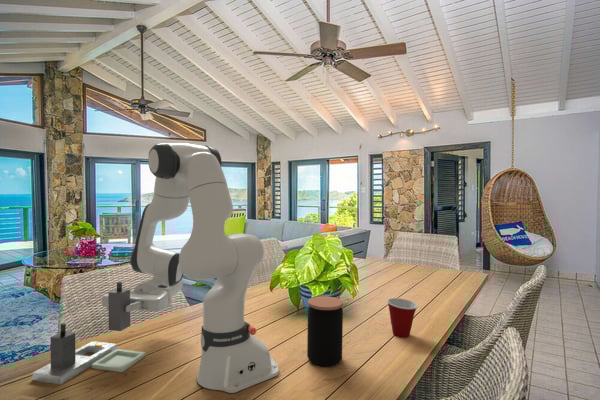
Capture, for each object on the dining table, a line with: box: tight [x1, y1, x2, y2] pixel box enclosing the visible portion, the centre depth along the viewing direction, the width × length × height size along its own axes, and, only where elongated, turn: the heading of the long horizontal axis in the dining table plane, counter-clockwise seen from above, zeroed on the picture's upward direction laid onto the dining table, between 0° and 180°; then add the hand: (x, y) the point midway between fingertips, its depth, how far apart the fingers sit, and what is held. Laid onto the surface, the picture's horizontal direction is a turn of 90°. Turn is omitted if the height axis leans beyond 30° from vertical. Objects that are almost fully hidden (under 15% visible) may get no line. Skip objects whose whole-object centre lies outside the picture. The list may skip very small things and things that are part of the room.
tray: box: [91, 348, 146, 373], centre depth 103 cm, size 10×10×2 cm
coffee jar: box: [306, 295, 344, 368], centre depth 107 cm, size 11×11×18 cm
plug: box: [107, 281, 131, 332], centre depth 103 cm, size 4×4×13 cm
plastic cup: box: [386, 297, 419, 339], centre depth 126 cm, size 11×11×12 cm
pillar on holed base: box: [32, 322, 118, 385], centre depth 101 cm, size 20×9×14 cm, turn 168°
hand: (117, 308), depth 102 cm, fingers closed on plug, 4 cm apart
